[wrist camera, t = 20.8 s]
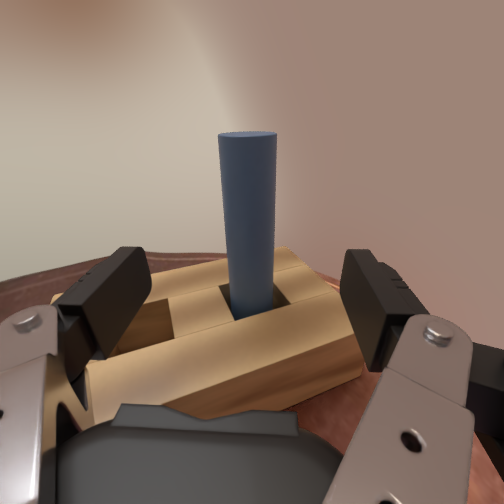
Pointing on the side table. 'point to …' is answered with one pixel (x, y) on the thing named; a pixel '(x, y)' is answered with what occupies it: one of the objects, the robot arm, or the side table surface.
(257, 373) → the rack
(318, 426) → the side table surface
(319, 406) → the side table surface
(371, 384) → the side table surface
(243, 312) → the peg
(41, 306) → the robot arm
